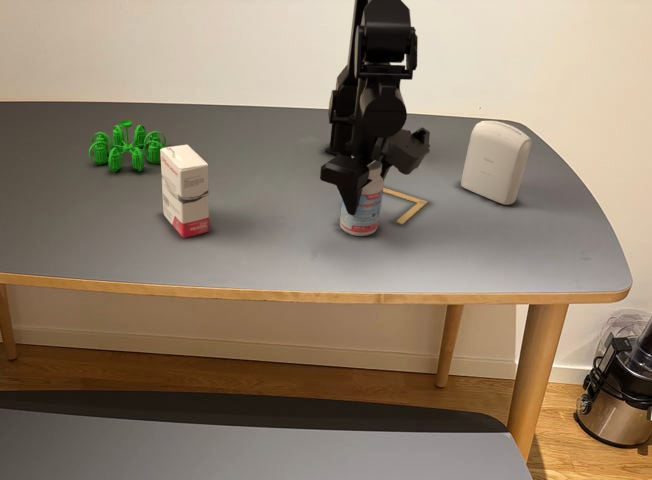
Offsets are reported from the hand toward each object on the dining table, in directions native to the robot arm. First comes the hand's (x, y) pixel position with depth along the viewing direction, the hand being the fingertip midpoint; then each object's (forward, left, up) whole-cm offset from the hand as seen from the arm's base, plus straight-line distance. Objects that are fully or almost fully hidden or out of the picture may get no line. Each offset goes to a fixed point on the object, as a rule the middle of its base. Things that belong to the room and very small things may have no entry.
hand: (361, 206), depth 117 cm
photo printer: (+12, +24, -4) cm, 27 cm away
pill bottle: (0, 0, -4) cm, 4 cm away
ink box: (-23, -16, -4) cm, 28 cm away
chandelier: (-47, -4, -4) cm, 47 cm away
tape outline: (0, +9, -4) cm, 10 cm away
